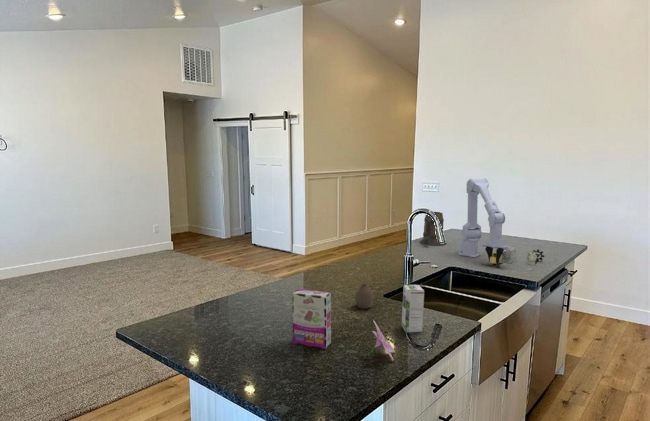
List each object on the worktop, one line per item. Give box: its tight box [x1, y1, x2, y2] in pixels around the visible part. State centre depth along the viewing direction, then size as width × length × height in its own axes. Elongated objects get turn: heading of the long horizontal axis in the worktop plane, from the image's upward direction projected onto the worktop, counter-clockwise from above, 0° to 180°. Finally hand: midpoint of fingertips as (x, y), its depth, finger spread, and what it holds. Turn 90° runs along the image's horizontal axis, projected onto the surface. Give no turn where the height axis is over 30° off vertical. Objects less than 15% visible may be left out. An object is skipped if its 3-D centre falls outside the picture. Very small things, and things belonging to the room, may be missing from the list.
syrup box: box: [401, 284, 425, 333], centre depth 143 cm, size 6×6×14 cm
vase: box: [354, 283, 374, 310], centre depth 163 cm, size 7×7×9 cm
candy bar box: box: [292, 288, 332, 350], centre depth 132 cm, size 11×5×16 cm, turn 69°
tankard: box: [419, 211, 447, 247], centre depth 271 cm, size 24×17×20 cm
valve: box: [526, 249, 545, 266], centre depth 228 cm, size 7×7×12 cm
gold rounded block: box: [489, 253, 504, 265], centre depth 225 cm, size 6×11×6 cm, turn 140°
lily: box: [367, 319, 396, 361], centre depth 124 cm, size 12×12×10 cm
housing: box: [492, 246, 517, 264], centre depth 233 cm, size 10×8×7 cm
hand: (493, 261), depth 222 cm, fingers closed on gold rounded block, 3 cm apart
